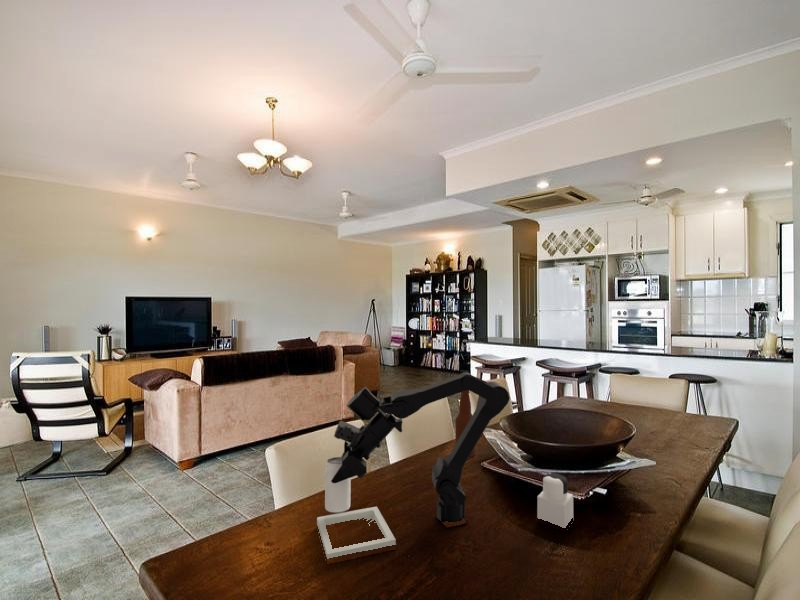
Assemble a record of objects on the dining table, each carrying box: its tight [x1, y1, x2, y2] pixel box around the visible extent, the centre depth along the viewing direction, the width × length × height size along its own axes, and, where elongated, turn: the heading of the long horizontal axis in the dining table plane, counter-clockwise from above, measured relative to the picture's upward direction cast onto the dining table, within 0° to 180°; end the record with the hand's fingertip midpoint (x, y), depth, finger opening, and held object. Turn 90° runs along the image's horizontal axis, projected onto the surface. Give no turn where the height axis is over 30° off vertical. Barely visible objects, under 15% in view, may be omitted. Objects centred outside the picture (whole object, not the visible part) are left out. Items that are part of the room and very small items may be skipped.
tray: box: [316, 506, 397, 559], centre depth 101 cm, size 16×16×2 cm
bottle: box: [455, 390, 476, 458], centre depth 153 cm, size 7×7×25 cm
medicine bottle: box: [536, 473, 574, 528], centre depth 107 cm, size 7×7×12 cm
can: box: [324, 456, 352, 514], centre depth 106 cm, size 6×6×12 cm
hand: (333, 476), depth 106 cm, fingers closed on can, 6 cm apart
